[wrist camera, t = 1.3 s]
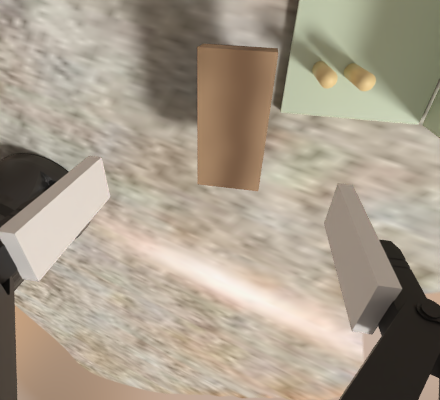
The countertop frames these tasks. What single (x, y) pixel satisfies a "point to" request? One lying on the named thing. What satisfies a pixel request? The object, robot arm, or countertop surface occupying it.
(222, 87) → the shelf board
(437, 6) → the cabinet
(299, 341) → the countertop surface
